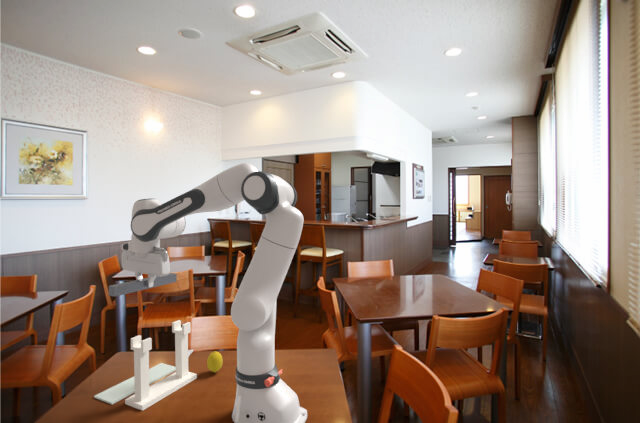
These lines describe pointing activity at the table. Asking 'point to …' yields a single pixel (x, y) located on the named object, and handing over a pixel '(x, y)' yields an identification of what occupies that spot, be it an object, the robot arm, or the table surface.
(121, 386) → the mat
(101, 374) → the table surface
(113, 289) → the rail
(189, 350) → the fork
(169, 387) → the rack
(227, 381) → the table surface
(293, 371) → the table surface
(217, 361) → the lemon
